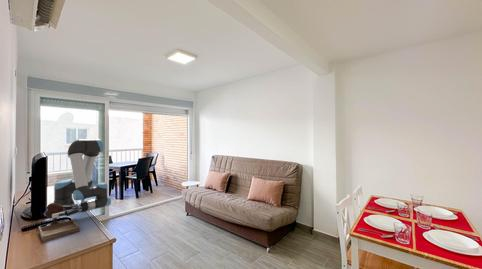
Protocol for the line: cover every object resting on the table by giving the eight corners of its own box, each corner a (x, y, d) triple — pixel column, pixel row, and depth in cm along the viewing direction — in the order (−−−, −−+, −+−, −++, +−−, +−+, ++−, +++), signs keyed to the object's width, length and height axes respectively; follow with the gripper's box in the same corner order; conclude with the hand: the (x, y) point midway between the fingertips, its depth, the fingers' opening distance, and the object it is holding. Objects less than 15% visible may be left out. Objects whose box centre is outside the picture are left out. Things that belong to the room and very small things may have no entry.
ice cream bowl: (52, 228, 141) (52, 205, 141) (39, 226, 143) (39, 204, 143) (68, 221, 151) (68, 200, 151) (56, 220, 153) (56, 199, 153)
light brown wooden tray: (39, 232, 134) (38, 227, 134) (73, 223, 148) (73, 219, 148) (42, 242, 123) (42, 237, 123) (79, 231, 136) (79, 226, 136)
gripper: (92, 214, 153) (53, 224, 137) (83, 206, 169) (47, 214, 153) (92, 204, 153) (53, 213, 137) (83, 197, 169) (47, 204, 153)
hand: (50, 213), depth 145 cm, fingers open, 13 cm apart
